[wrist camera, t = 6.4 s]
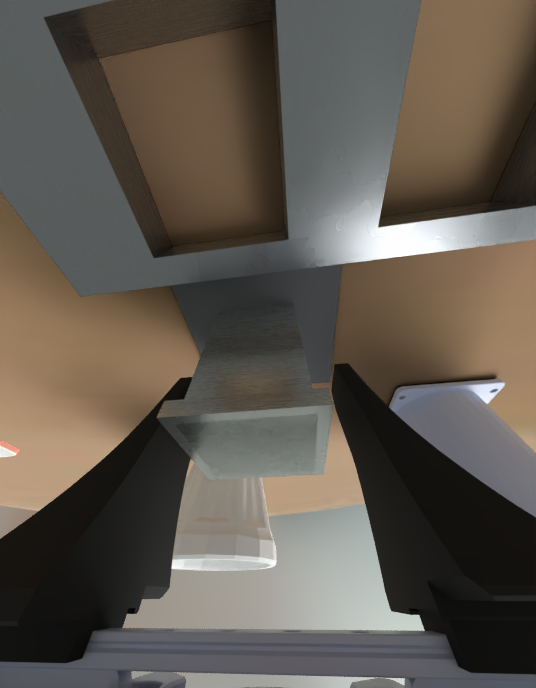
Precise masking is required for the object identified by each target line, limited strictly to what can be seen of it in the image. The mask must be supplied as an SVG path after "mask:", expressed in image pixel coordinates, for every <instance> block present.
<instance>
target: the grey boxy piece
mask: <svg viewBox="0 0 536 688" xmlns="http://www.w3.org/2000/svg"><path fill="white" fill-rule="evenodd" d="M332 408H333V403H332V400H331V397H330V393H329V390H328V388H319V389H312V384H311V380H310V375H309V371H308V366H307V362H306V357H305V353H304V348H303V344H302V339H301V335H300V330H299V325H298V321H297V316H296V312H295V307H294V303H293V304H284V305H275V306H266V307H257V308H248V309H239V310H231V311H222V312H218V314H217V316H216V319H215V321H214V324H213V326H212V329H211V332H210V334H209V337H208V339H207V342H206V344H205V347H204V350H203V352H202V355H201V357H200V360H199V363H198V365H197V368H196V370H195V373H194V375H193V378H192V381H191V383H190V386H189V388H188V391H187V393H186V396H185V399H182V400H169V401H164V403H163V405H162V407H161V409H160V411H159V413H158V415H157V417H156V418H157V419H158V420H159V422H160V423H161V424H162V425H163V426H164V427H165V429H166V430H167V431H168V432H169V433H170V434H171V436H172V437H173V438H174V439H175V440H176V441H177V443H178V444H179V445H180V446H181V447H182V448H183V450H184V451H185V452H186V453H187V454H188V455H189V457H190V458H191V459H192V460H193V461H194V463H195V464H196V465H197V466H198V467H199V468H200V470H201V471H202V472H203V473H204V474H205V475H206V477H207V478H208V479H209V480H216V479H237V478H257V477H278V476H299V475H319V474H324V469H325V462H326V454H327V446H328V439H329V431H330V423H331V416H332Z"/></svg>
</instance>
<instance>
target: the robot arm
mask: <svg viewBox="0 0 536 688" xmlns="http://www.w3.org/2000/svg"><path fill="white" fill-rule="evenodd" d="M191 381H192V377H188V378H180V379H179V380H178V381H177V383H176V384H175V385H174V386H173V387H172V388H171V389H170V391H169V392H168V393H167V394H166V395H165V396H164V397H163V399H162V400H161V401H160V402H159V403H158V404H157V405H156V406H155V408H154V409H153V410H152V411H151V412H150V413H149V414H148V415H147V416H146V418H145V419H144V420H143V421H142V422H141V423H140V424H139V425H138V426H137V427H136V428H135V429H134V430H133V431H132V432H131V433H130V434H129V435H128V436H127V437H126V438H125V439H124V440H123V441H122V442H121V443H120V444H119V445H118V446H117V447H116V448H115V449H114V450H113V451H112V452H110V453H109V454H108V455H107V456H106V457H105V458H104V459H103V460H102V461H101V462H99V463H98V464H97V465H96V466H95V467H93V468H92V469H91V470H90V471H89V472H88V473H86V474H85V475H84V476H83V477H82V478H80V479H79V480H78V481H77V482H76V483H74V484H73V485H72V486H71V487H70V488H68V489H67V490H66V491H64V492H63V493H62V494H61V495H59V496H58V497H57V498H56V499H54V500H53V501H52V502H50V503H49V504H48V505H46V506H45V507H44V508H42V509H41V510H40V511H38V512H37V513H36V514H35V515H33V516H32V517H30V518H29V519H28V520H26V521H25V522H23V523H22V524H21V525H19V526H18V527H16V528H15V529H14V530H12V531H11V532H9V533H8V534H7V535H5V536H4V537H2V538H1V539H0V688H185V684H186V679H185V677H184V676H181V675H179V674H176V673H173V672H192V673H230V674H267V675H306V676H344V677H382V678H375V679H369V680H364V681H358V682H353V683H352V684H351V687H350V688H536V453H535V452H534V451H533V450H532V449H531V448H530V447H529V446H528V445H527V444H526V443H525V442H524V441H523V440H522V439H521V438H520V437H519V436H518V435H517V434H516V433H515V432H514V431H513V430H512V429H511V428H510V427H509V426H508V425H507V424H506V423H505V422H504V421H503V420H502V419H501V418H500V417H499V416H498V415H497V414H496V413H495V412H494V411H493V410H492V409H491V408H490V407H489V406H488V405H487V404H488V403H489V402H490V401H491V399H492V398H493V397H494V396H495V395H496V394H497V393H498V392H499V391H500V390H501V389H502V388H503V387H504V385H505V383H504V382H503V381H502V380H500V379H491V380H478V381H465V382H453V383H440V384H427V385H415V386H403V387H399V388H398V389H397V390H396V391H395V394H394V396H393V398H392V401H391V403H390V405H389V407H388V406H387V405H386V404H385V403H384V402H383V401H382V400H381V399H380V398H379V397H378V396H377V395H376V394H375V393H374V392H373V391H372V390H371V389H370V388H369V386H368V385H367V384H366V383H365V382H364V381H363V380H362V379H361V378H360V377H359V375H358V374H357V373H356V372H355V371H354V370H353V369H352V367H351V366H350V365H349V364H348V363H345V364H335V365H334V374H333V383H332V395H333V400H334V404H335V408H336V412H337V415H338V417H339V420H340V423H341V426H342V429H343V431H344V434H345V437H346V440H347V442H348V445H349V448H350V451H351V453H352V456H353V459H354V462H355V466H356V469H357V473H358V477H359V481H360V484H361V488H362V492H363V496H364V500H365V504H366V508H367V511H368V516H369V520H370V524H371V529H372V533H373V537H374V541H375V546H376V550H377V555H378V559H379V564H380V568H381V573H382V578H383V582H384V587H385V592H386V595H387V599H388V602H389V606H390V609H391V611H394V612H399V613H405V614H410V615H420V618H421V621H422V624H423V626H424V629H425V631H373V630H370V631H369V630H363V631H362V630H267V629H265V630H264V629H263V630H261V629H156V628H154V629H153V628H148V629H147V628H146V629H145V628H122V627H123V624H124V621H125V618H126V615H127V614H136V613H137V612H138V610H139V607H140V604H141V600H142V599H160V598H161V597H162V596H163V595H164V594H165V593H166V592H167V590H168V589H169V587H170V577H171V568H172V559H173V551H174V543H175V536H176V530H177V523H178V517H179V511H180V505H181V499H182V494H183V489H184V484H185V478H186V474H187V470H188V466H189V462H190V459H191V458H190V457H189V455H188V454H187V453H186V452H185V451H184V450H183V448H182V447H181V446H180V445H179V444H178V443H177V441H176V440H175V439H174V438H173V437H172V436H171V434H170V433H169V432H168V431H167V430H166V429H165V427H164V426H163V425H162V424H161V423H160V422H159V420H158V419H157V418H156V417H157V415H158V413H159V411H160V409H161V407H162V405H163V403H164V401H169V400H182V399H185V396H186V393H187V391H188V388H189V386H190V383H191ZM131 671H153V673H150V674H147V675H143V676H140V677H137V678H134V679H132V677H131ZM383 677H384V678H383ZM385 678H405V686H403V685H402V684H400V683H397V682H396V681H393V680H390V679H385ZM246 688H280V687H246Z"/></svg>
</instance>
